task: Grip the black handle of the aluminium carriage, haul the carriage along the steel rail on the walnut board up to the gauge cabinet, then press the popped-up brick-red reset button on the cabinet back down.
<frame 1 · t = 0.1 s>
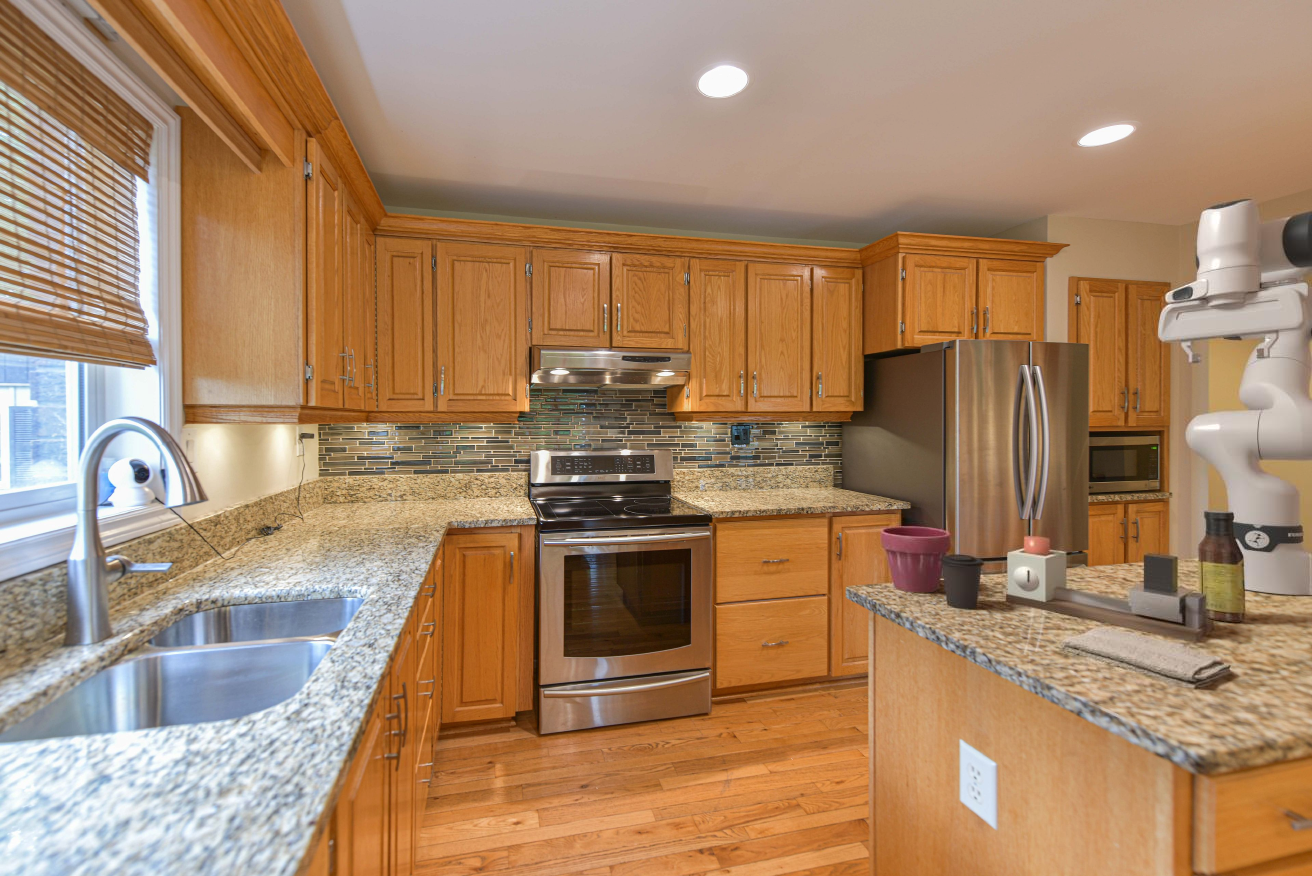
hand: (1227, 361, 113), 48 cm above the worktop, tool pointing down, fingers open, 8 cm apart
gauge cabinet: (1036, 600, 122), resting on rail board
rail board: (1101, 614, 113), on the worktop
coffee cup: (961, 606, 120), on the worktop
carriage: (1160, 585, 106), point 7 cm above the worktop, slide at 0.0 cm
plant pot: (915, 588, 133), on the worktop
washcloth: (1141, 665, 91), on the worktop
sauce bottle: (1221, 619, 110), on the worktop
reset plunger: (1036, 551, 122), point 10 cm above the worktop, slide at 0.0 cm
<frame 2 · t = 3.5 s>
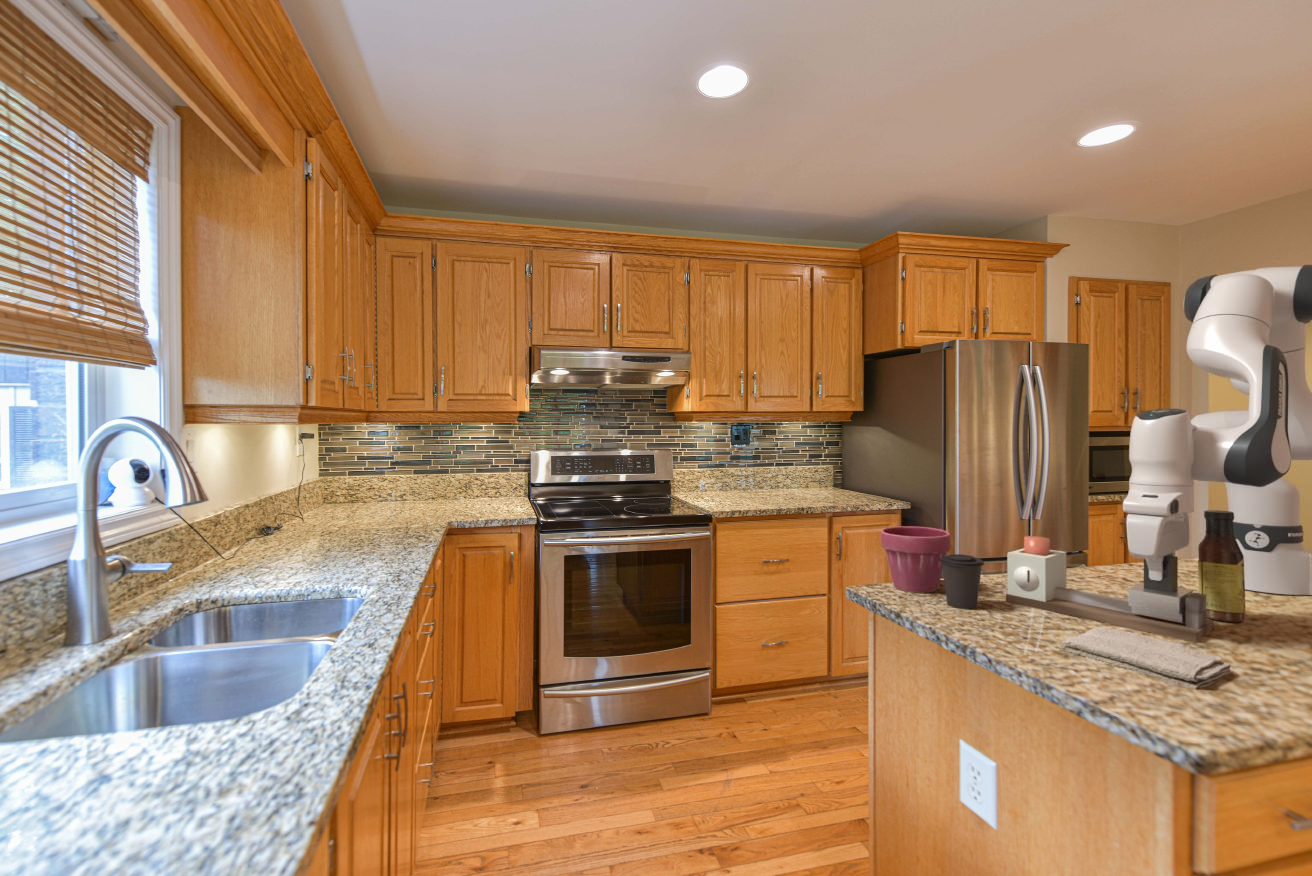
hand: (1160, 577, 106), 9 cm above the worktop, tool pointing down, fingers closed on carriage, 3 cm apart
carriage: (1160, 585, 106), point 7 cm above the worktop, slide at 0.0 cm, touching gripper
everything else where it was.
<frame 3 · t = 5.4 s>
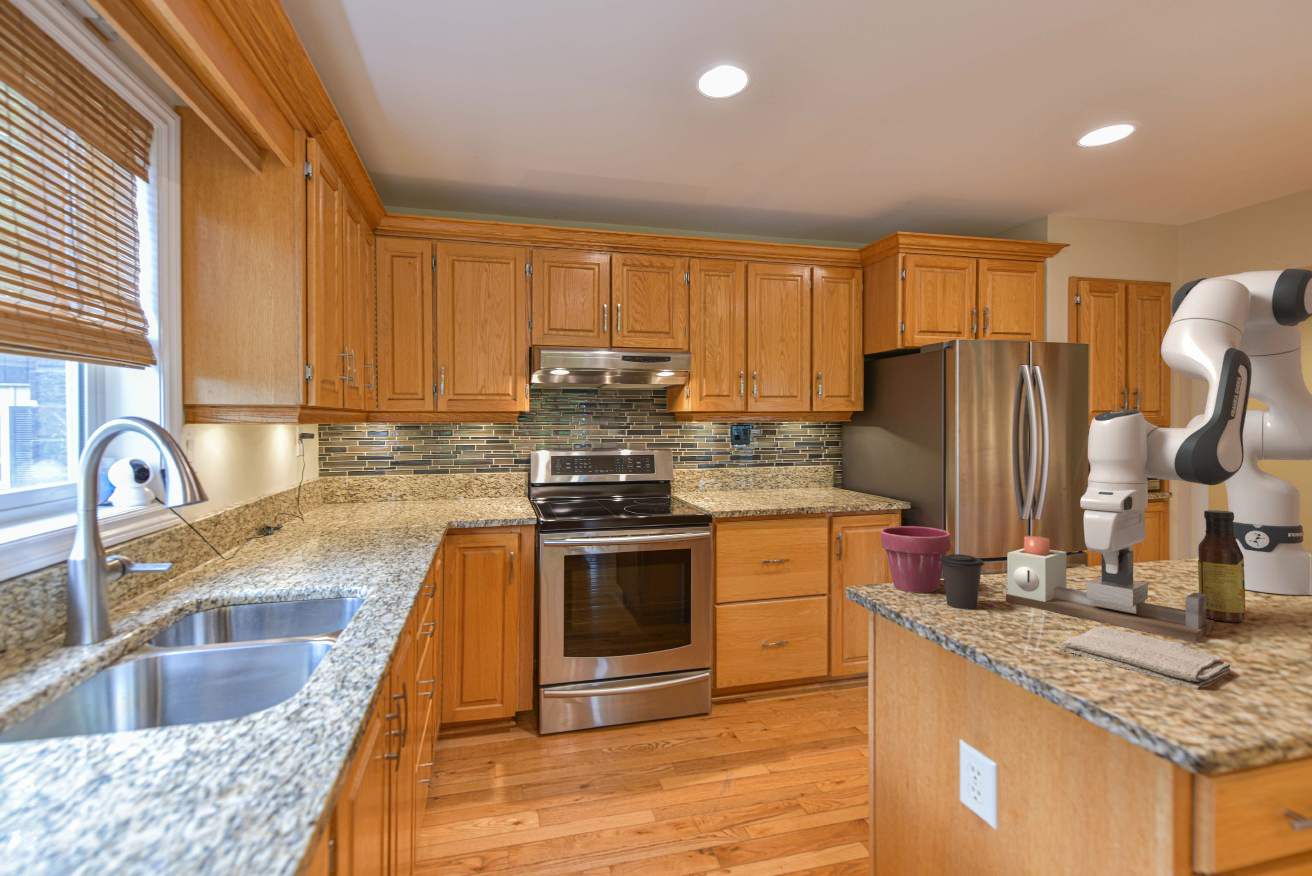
hand: (1117, 571, 111), 9 cm above the worktop, tool pointing down, fingers closed on carriage, 3 cm apart
carriage: (1117, 578, 111), point 7 cm above the worktop, slide at 6.4 cm, touching gripper
everything else where it was.
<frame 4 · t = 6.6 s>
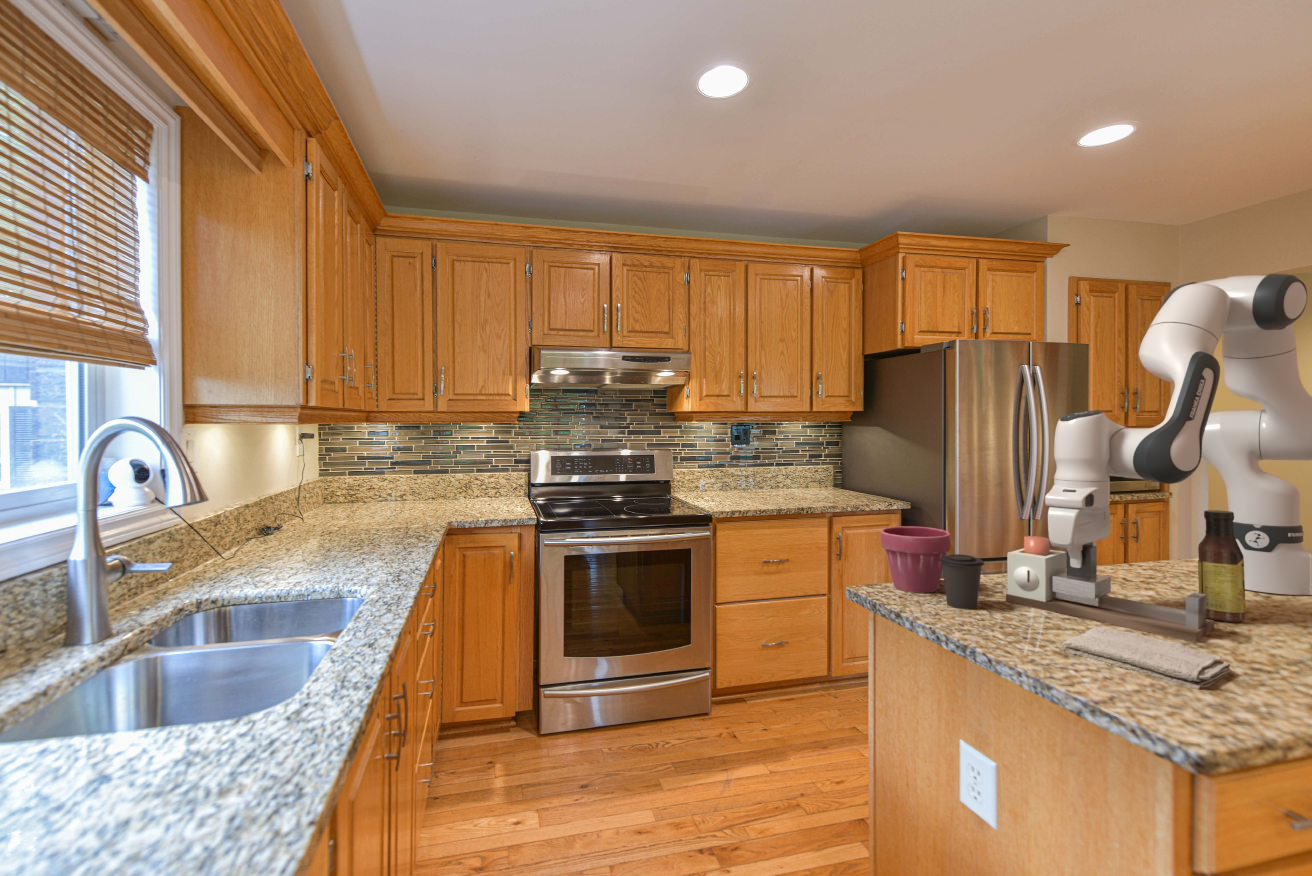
hand: (1081, 565, 116), 9 cm above the worktop, tool pointing down, fingers closed on carriage, 3 cm apart
carriage: (1081, 572, 116), point 7 cm above the worktop, slide at 12.1 cm, touching gripper
everything else where it was.
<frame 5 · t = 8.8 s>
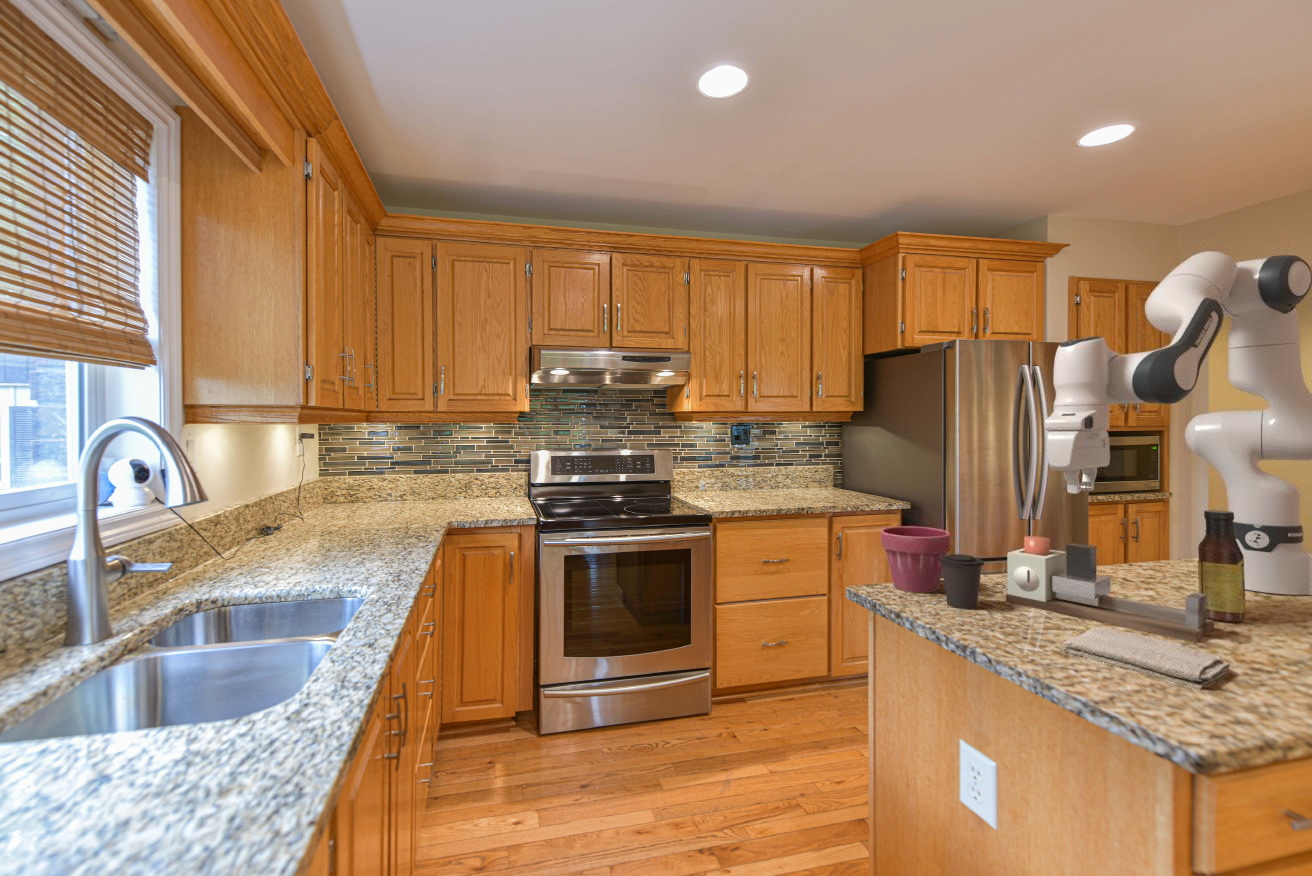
hand: (1080, 491, 116), 23 cm above the worktop, tool pointing down, fingers open, 5 cm apart
carriage: (1081, 572, 116), point 7 cm above the worktop, slide at 12.1 cm
everything else where it was.
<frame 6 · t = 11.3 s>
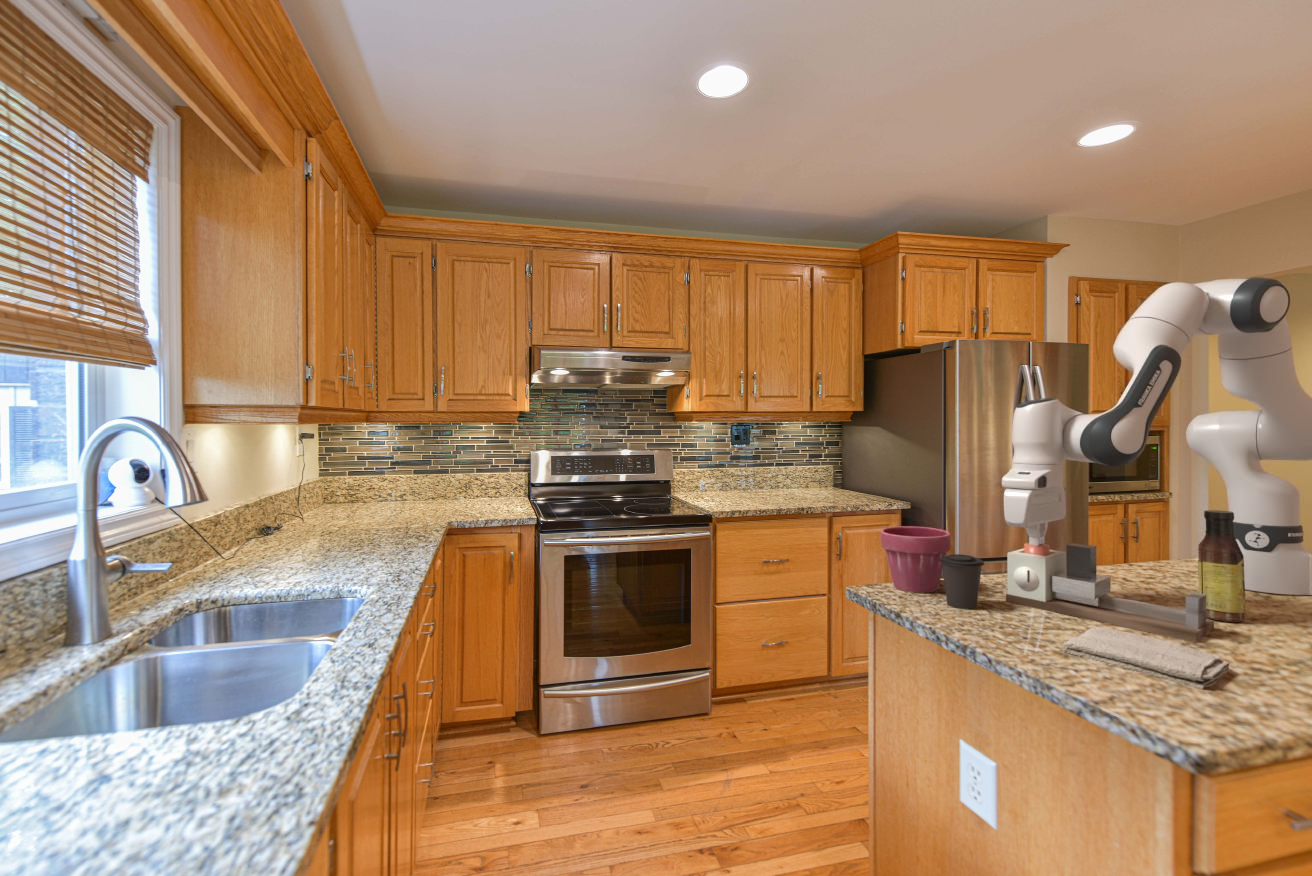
hand: (1036, 544, 122), 12 cm above the worktop, tool pointing down, fingers closed, pressing on reset plunger
reset plunger: (1036, 558, 122), point 9 cm above the worktop, slide at 1.4 cm, touching gripper
everything else where it was.
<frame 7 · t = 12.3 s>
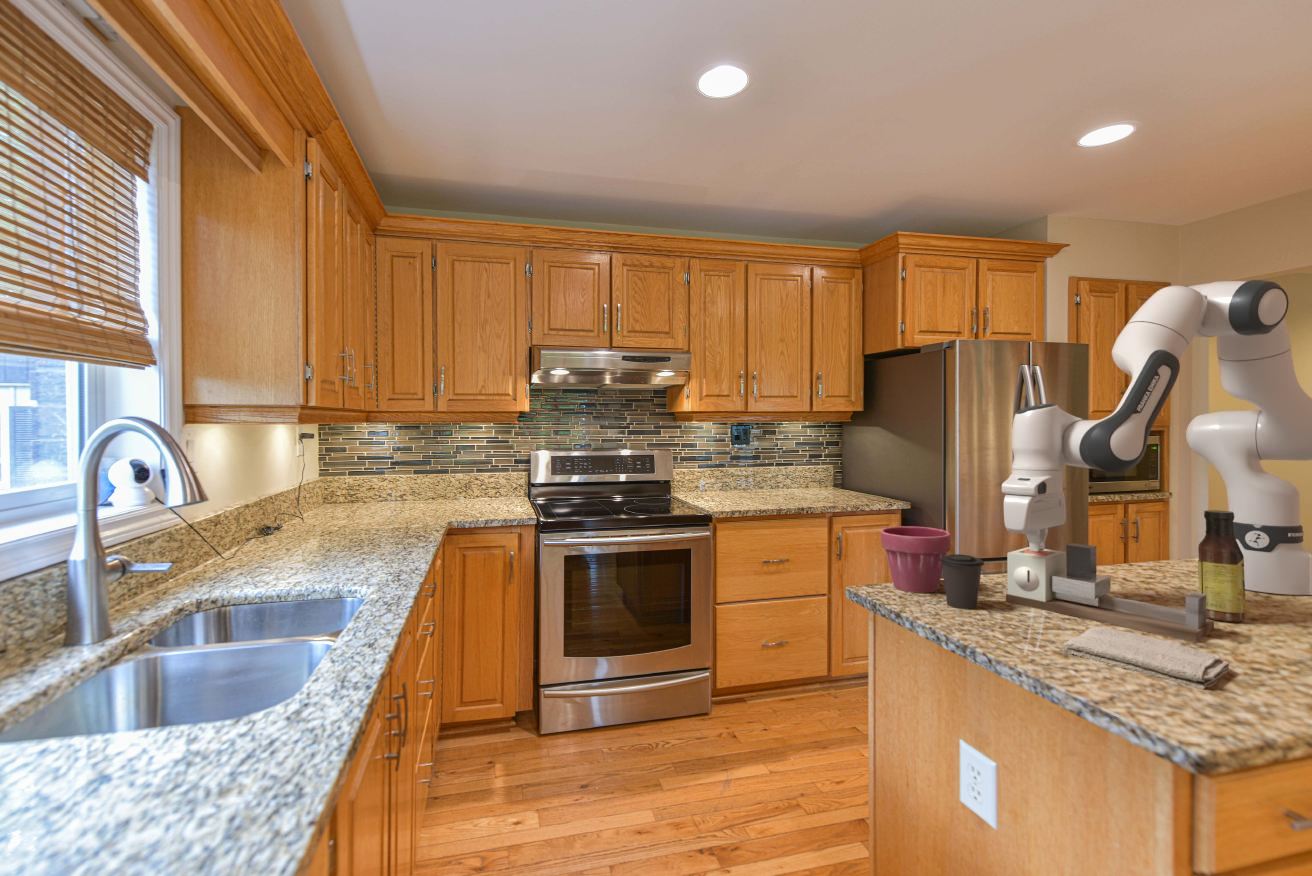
hand: (1036, 550, 122), 10 cm above the worktop, tool pointing down, fingers closed
reset plunger: (1036, 565, 122), point 7 cm above the worktop, slide at 2.8 cm
everything else where it was.
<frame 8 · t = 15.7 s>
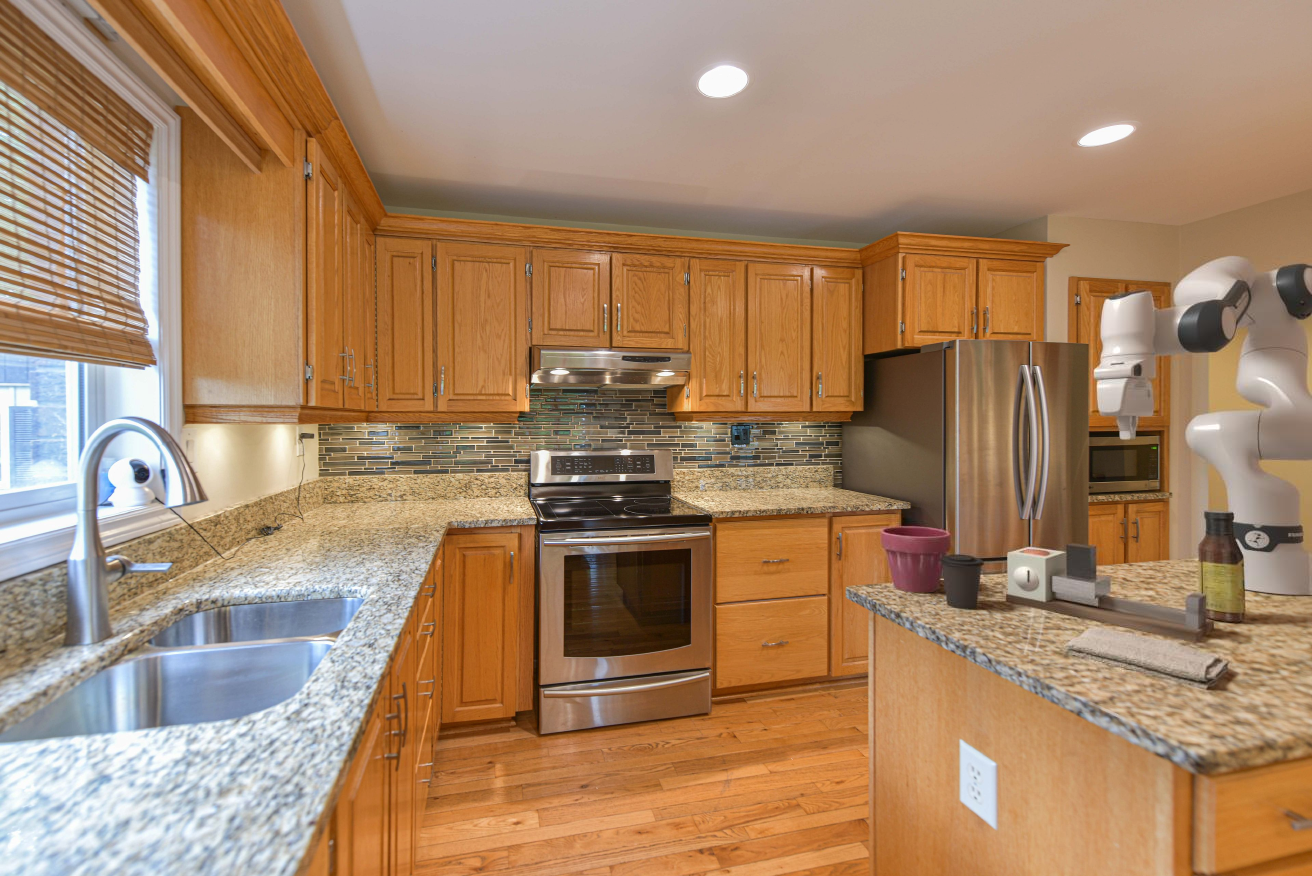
hand: (1127, 439, 121), 33 cm above the worktop, tool pointing down, fingers closed
nothing on the worktop moved.
at the end: carriage slide at 12.1 cm; reset plunger slide at 2.8 cm; the gripper is holding nothing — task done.
